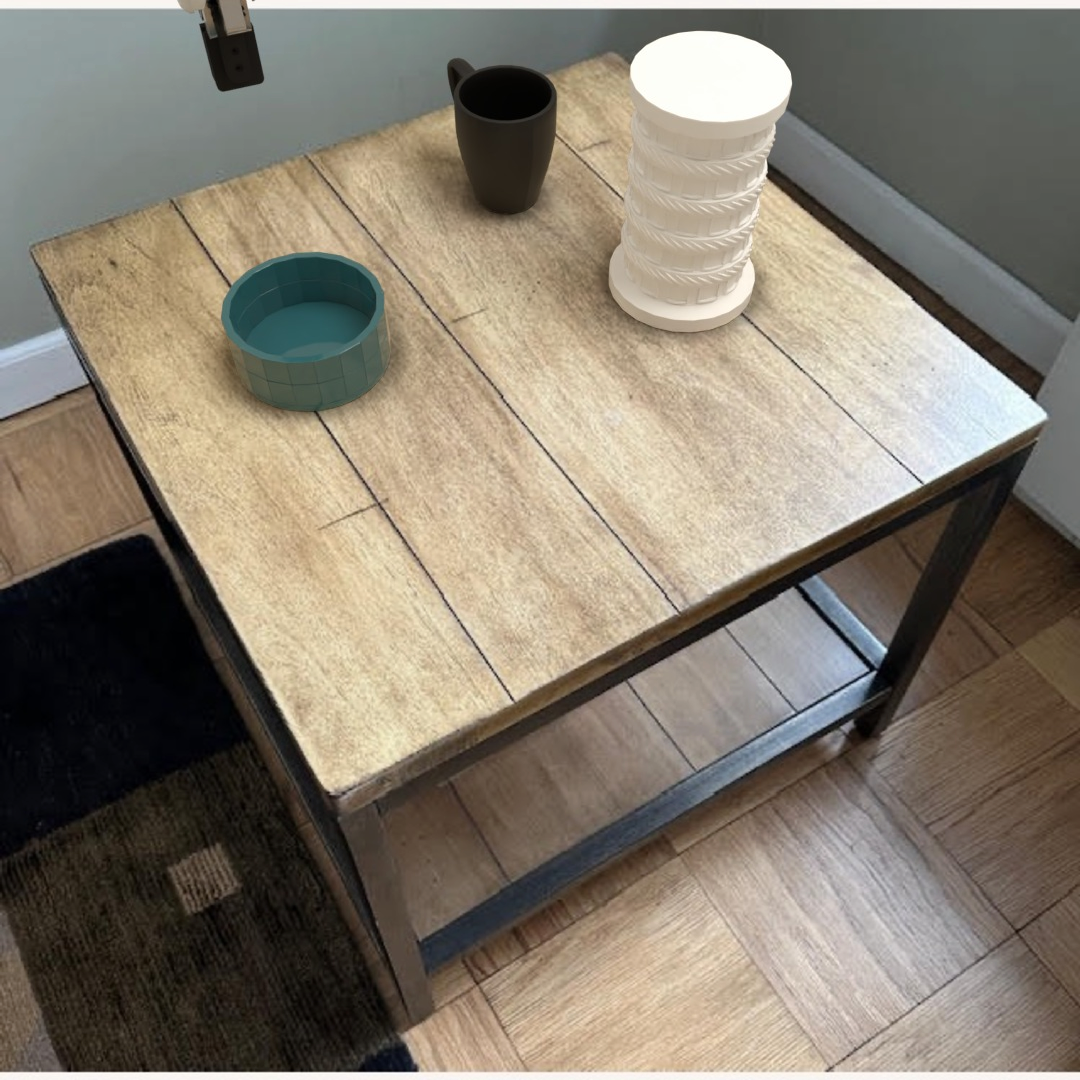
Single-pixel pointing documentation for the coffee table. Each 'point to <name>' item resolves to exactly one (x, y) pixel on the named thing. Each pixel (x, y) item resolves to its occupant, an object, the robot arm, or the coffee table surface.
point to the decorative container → (696, 177)
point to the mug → (503, 131)
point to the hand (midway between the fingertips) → (239, 81)
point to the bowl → (307, 330)
